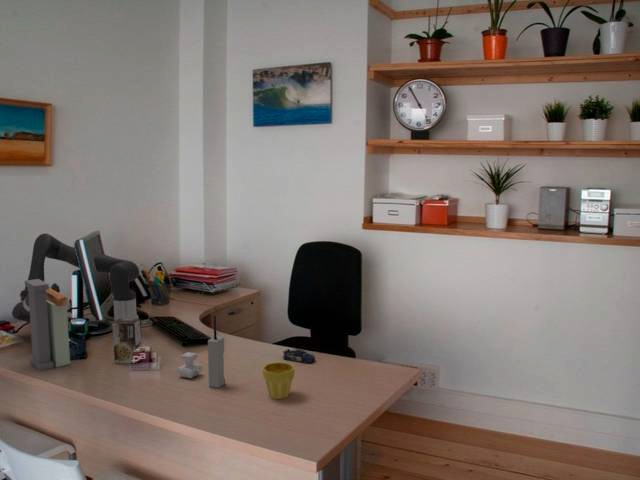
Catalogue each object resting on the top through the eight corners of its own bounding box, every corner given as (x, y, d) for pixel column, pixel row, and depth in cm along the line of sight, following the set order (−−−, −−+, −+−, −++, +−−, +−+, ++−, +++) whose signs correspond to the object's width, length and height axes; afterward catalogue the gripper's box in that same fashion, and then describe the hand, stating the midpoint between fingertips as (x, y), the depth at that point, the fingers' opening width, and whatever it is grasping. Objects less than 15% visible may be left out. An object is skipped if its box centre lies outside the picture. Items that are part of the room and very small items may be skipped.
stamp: (205, 375, 223) (204, 353, 222) (193, 381, 217) (193, 358, 216) (185, 371, 227) (185, 349, 226) (173, 377, 221) (173, 354, 220)
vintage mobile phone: (225, 383, 215) (223, 314, 212) (218, 388, 211) (216, 317, 207) (215, 382, 217) (214, 313, 213) (208, 387, 212) (207, 316, 208)
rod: (46, 293, 246) (46, 286, 245) (67, 305, 228) (66, 297, 227) (38, 294, 244) (38, 287, 243) (58, 306, 226) (58, 298, 225)
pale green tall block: (59, 356, 244) (56, 297, 240) (70, 364, 235) (66, 302, 231) (46, 358, 241) (42, 299, 237) (56, 367, 232) (52, 304, 228)
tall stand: (43, 359, 240) (38, 279, 235) (53, 367, 231) (48, 284, 226) (30, 362, 237) (24, 280, 232) (39, 370, 228) (34, 286, 223)
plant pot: (282, 404, 198) (282, 374, 196) (257, 397, 203) (256, 368, 202) (300, 393, 207) (300, 365, 205) (275, 387, 212) (275, 359, 211)
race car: (321, 360, 240) (321, 349, 239) (315, 366, 234) (315, 355, 233) (286, 356, 245) (286, 345, 245) (279, 361, 239) (279, 350, 238)
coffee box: (143, 358, 241) (141, 318, 239) (136, 364, 235) (135, 323, 233) (120, 357, 242) (118, 318, 240) (113, 363, 236) (111, 322, 233)
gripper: (14, 294, 251) (22, 280, 239) (50, 289, 260) (60, 275, 248) (17, 311, 249) (26, 298, 237) (54, 306, 258) (64, 293, 246)
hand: (44, 286), depth 243 cm, fingers open, 8 cm apart
